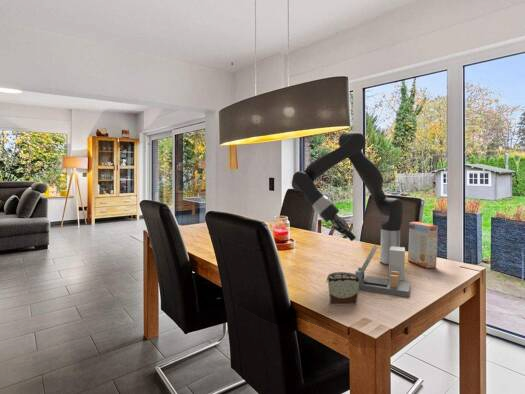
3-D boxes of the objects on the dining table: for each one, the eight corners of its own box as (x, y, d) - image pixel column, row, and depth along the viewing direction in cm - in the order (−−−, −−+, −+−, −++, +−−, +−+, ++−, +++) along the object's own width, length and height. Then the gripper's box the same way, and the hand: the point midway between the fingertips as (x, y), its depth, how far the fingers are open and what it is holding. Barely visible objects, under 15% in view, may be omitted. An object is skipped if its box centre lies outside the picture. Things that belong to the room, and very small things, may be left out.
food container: (355, 297, 126) (356, 271, 125) (360, 304, 119) (361, 276, 119) (322, 298, 125) (323, 271, 124) (326, 304, 119) (326, 277, 118)
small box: (389, 273, 155) (390, 245, 153) (404, 275, 152) (405, 247, 151) (388, 279, 147) (389, 249, 146) (403, 280, 145) (404, 251, 144)
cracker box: (437, 268, 163) (438, 225, 162) (426, 269, 162) (428, 226, 160) (417, 260, 177) (418, 221, 175) (407, 261, 176) (408, 221, 174)
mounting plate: (345, 278, 148) (346, 263, 148) (410, 286, 137) (410, 271, 137) (339, 286, 138) (340, 271, 137) (408, 296, 126) (409, 280, 126)
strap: (357, 274, 142) (374, 244, 138) (362, 276, 141) (378, 246, 138) (355, 277, 138) (372, 246, 134) (360, 280, 138) (377, 248, 134)
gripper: (327, 204, 137) (357, 236, 132) (335, 201, 149) (363, 231, 144) (314, 216, 140) (343, 248, 135) (323, 212, 151) (350, 242, 147)
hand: (353, 239), depth 140 cm, fingers closed
